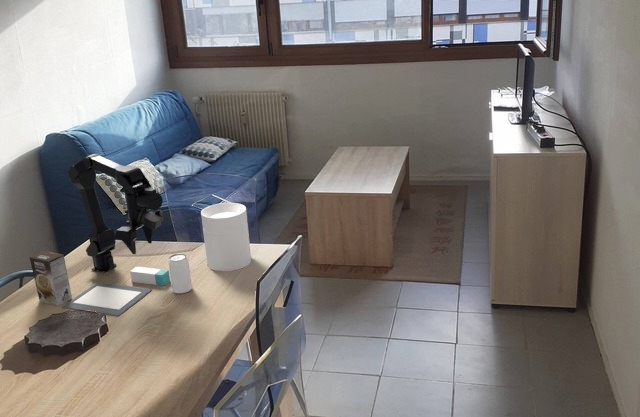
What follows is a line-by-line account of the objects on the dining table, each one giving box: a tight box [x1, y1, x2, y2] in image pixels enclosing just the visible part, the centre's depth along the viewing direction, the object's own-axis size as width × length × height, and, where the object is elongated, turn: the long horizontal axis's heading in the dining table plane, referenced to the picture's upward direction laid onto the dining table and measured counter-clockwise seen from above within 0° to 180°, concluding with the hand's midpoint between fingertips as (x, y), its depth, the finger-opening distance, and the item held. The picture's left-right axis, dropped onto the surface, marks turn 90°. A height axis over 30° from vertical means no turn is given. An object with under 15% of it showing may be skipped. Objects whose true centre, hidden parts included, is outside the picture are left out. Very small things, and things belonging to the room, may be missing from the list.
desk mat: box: [61, 281, 153, 317], centre depth 209 cm, size 22×18×1 cm
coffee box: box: [29, 250, 73, 307], centre depth 208 cm, size 9×6×16 cm
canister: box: [200, 202, 252, 272], centre depth 229 cm, size 16×16×20 cm
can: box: [168, 253, 193, 295], centre depth 211 cm, size 6×6×12 cm
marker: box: [129, 266, 171, 287], centre depth 220 cm, size 13×4×4 cm, turn 70°
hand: (142, 248), depth 217 cm, fingers open, 9 cm apart
